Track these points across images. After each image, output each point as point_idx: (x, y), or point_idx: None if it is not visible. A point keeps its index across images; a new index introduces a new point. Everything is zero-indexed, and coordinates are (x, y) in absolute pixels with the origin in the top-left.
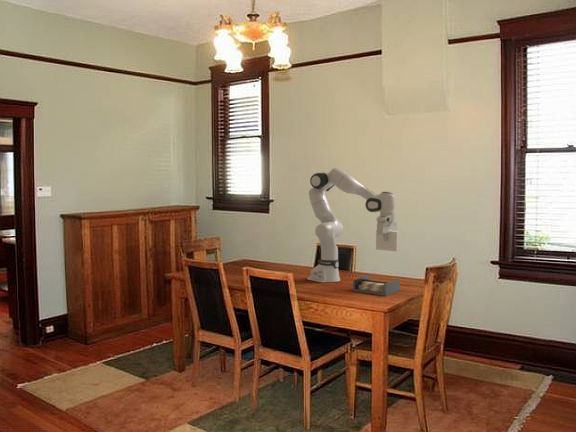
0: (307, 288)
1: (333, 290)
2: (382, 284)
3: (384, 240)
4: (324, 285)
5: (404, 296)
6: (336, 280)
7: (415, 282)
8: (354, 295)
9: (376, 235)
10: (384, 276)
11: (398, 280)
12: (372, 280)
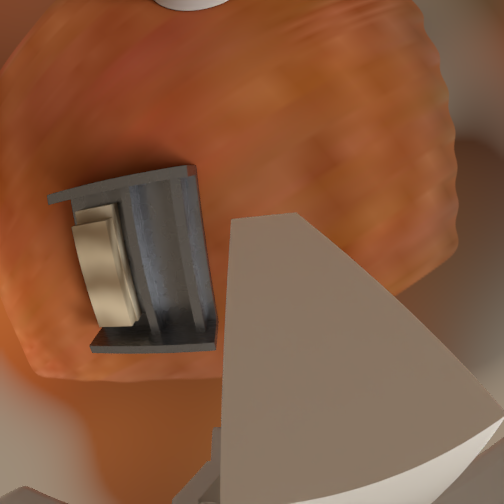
0: (30, 49)
1: (46, 124)
2: (110, 319)
3: (216, 432)
4: (96, 33)
5: (159, 367)
6: (184, 7)
7: (406, 273)
8: (42, 238)
9: (225, 333)
10: (435, 111)
11: (198, 349)
12: (176, 207)
